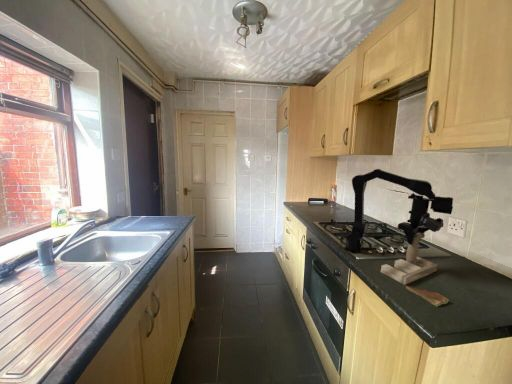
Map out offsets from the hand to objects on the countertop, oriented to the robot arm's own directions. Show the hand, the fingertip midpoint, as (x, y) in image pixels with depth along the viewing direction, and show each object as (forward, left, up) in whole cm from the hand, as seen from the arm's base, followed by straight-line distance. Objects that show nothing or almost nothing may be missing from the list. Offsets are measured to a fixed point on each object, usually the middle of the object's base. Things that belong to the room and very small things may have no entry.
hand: (413, 243), depth 96 cm
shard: (+15, -19, -12) cm, 27 cm away
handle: (0, 0, -10) cm, 10 cm away
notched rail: (+2, -6, -11) cm, 13 cm away
